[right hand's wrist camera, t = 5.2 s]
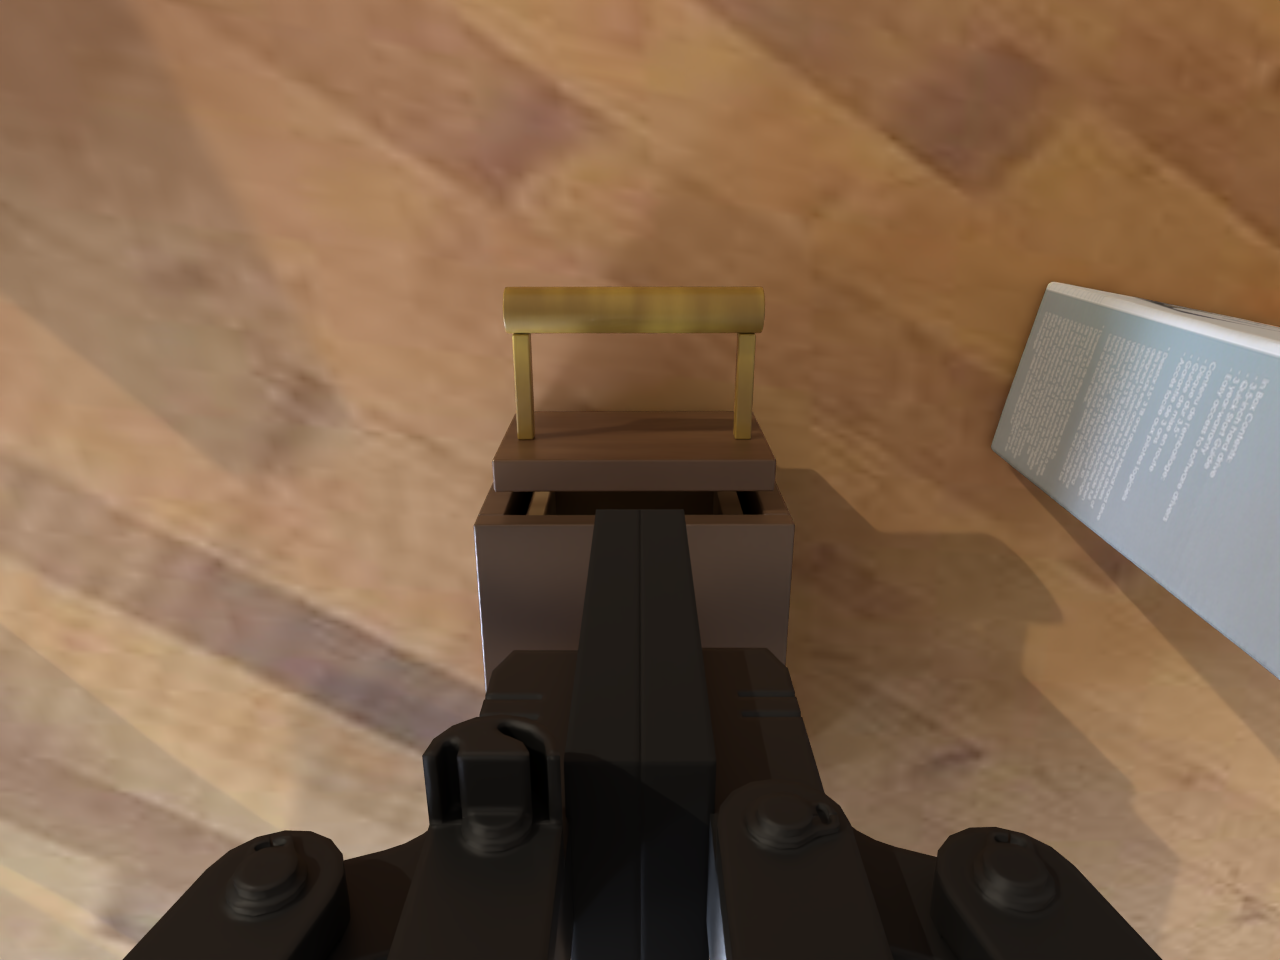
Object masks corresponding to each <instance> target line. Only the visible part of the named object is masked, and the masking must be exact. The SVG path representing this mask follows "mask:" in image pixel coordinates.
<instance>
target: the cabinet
mask: <svg viewBox="0 0 1280 960" xmlns="http://www.w3.org/2000/svg"><path fill="white" fill-rule="evenodd" d="M532 493H533V492H496V491H495V490H494V482H493V484H492V486H491V488H490V490H489V493H488V495H487V497H486V499H485V501H484V504H483V506H482V508H481V510H480V513H479V515H478V517H477V520H476V522H475V524H474V538H475V552H476V565H477V579H478V593H479V606H480V620H481V634H482V647H483V661H484V675H485V689H486V691H487V688H488V685H489V681H490V678H491V674H492V671H493V670H494V669H495V668H496V667H497V666H498V665H499V664H500V663H501V662H502V661H503V660H504V659H505V658H506V657H507V656H508V655H509V654H510V653H511V652H512V651H513V650H578V646H579V638H580V630H581V623H582V615H583V607H584V599H585V591H586V584H587V576H588V568H589V560H590V553H591V545H592V537H593V529H594V521H595V515H526V512H527V509H528V506H529V503H530V500H531V497H532ZM736 493H737V496H738V499H739V502H740V505H741V509H742V512H743V515H685V521H686V529H687V537H688V545H689V553H690V560H691V568H692V576H693V584H694V591H695V599H696V607H697V615H698V623H699V630H700V638H701V646H702V648H768V649H769V650H770V651H771V652H772V653H773V654H774V655H775V656H776V657H777V658H778V659H779V660H780V661H781V662H782V663H783V664H784V665H785V664H786V649H787V634H788V619H789V605H790V590H791V575H792V560H793V545H794V531H795V525H794V522H793V520H792V518H791V516H790V514H789V511H788V509H787V507H786V505H785V502H784V500H783V498H782V496H781V493H780V491H779V489H778V487H777V484H776V482H775V489H774V491H736Z"/></svg>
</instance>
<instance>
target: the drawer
mask: <svg viewBox="0 0 1280 960" xmlns="http://www.w3.org/2000/svg"><path fill="white" fill-rule="evenodd" d="M764 317H765V296H764V290H763V288H762V287H506V288H505V289H504V294H503V319H504V326H505V330H506V332H507V333H514V334H513V336H512V341H513V360H514V379H515V398H516V414H515V416H514V418H513V420H512V422H511V424H510V426H509V428H508V430H507V432H506V434H505V436H504V438H503V440H502V442H501V444H500V446H499V448H498V450H497V452H496V455H495V457H494V459H493V461H492V466H493V482H494V490H495V491H496V492H533V493H532V497H531V500H530V503H529V506H528V509H527V512H526V515H595V514H596V509H684V514H685V515H743V512H742V509H741V505H740V502H739V499H738V496H737V493H736V491H774V489H775V471H776V460H775V457H774V455H773V453H772V451H771V449H770V447H769V445H768V443H767V441H766V439H765V437H764V435H763V433H762V430H761V428H760V426H759V424H758V422H757V420H756V418H755V416H754V414H753V412H752V405H753V384H754V362H755V341H756V335H755V333H761V332H762V330H763V325H764ZM531 333H737V353H736V378H735V404H734V411H719V412H534V396H533V373H532V351H531Z"/></svg>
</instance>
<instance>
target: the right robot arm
mask: <svg viewBox="0 0 1280 960" xmlns="http://www.w3.org/2000/svg"><path fill="white" fill-rule="evenodd" d="M485 696H486V697H485V700H484V702H483V705H482V709H481V712H480V717H475V718H473V719H470V720H467V721H464V722H462V723H459V724H456V725H453V726H451V727H450V728H449V729H447V730H446V731H444V732H443V733H442V734H440V735H439V736H437V737H436V738H434V739H433V741H432V742H431V744H430V745H429V747H428V748H427V750H426V751H425V753H424V754H423V756H422V757H423V767H424V776H425V785H426V795H427V804H428V814H429V823H430V825H429V828H428V831H426V832H425V833H424V834H422V835H420V836H418V837H416V838H415V839H413V840H411V841H409V842H407V843H405V844H402V845H399V846H396V847H393V848H390V849H387V850H384V851H380V852H376V853H372V854H368V855H364V856H360V857H356V858H352V859H348V860H344V861H343V854H342V853H341V852H340V850H339V849H338V848H337V847H336V845H335V844H334V843H333V841H332V840H331V839H329V838H326V837H324V836H321V835H319V834H316V833H314V832H311V831H281V832H277V833H272V834H268V835H264V836H260V837H256V838H254V839H252V840H250V841H248V842H246V843H244V844H242V845H240V846H238V847H236V848H234V849H232V850H230V851H228V852H227V853H226V854H225V855H223V856H222V857H221V858H220V859H219V860H217V861H216V862H215V863H214V864H213V865H211V866H210V867H209V868H208V869H206V871H205V872H204V873H203V874H202V875H201V876H200V877H199V878H198V879H197V880H196V881H195V882H194V883H193V885H192V886H191V887H190V888H189V889H188V890H187V891H186V892H185V893H184V894H183V895H182V896H181V897H180V898H179V900H178V901H177V902H176V903H175V904H174V905H173V906H172V907H171V908H170V909H169V910H168V911H167V912H166V914H165V915H164V916H163V917H162V918H161V919H160V920H159V921H158V922H157V923H156V924H155V925H154V926H153V928H152V929H151V930H150V931H149V932H148V933H147V934H146V935H145V936H144V937H143V938H142V939H141V940H140V941H139V943H138V944H137V945H136V946H135V947H134V948H133V949H132V950H131V951H130V952H129V953H128V954H127V955H126V957H125V958H124V959H123V960H709V957H710V960H1162V959H1161V958H1160V957H1159V956H1158V955H1157V954H1156V952H1155V951H1154V950H1153V949H1152V948H1151V947H1150V946H1149V945H1148V944H1147V943H1146V942H1145V941H1144V940H1143V939H1142V937H1141V936H1140V935H1139V934H1138V933H1137V932H1136V931H1135V930H1134V929H1133V928H1132V927H1131V926H1130V925H1129V924H1128V923H1127V921H1126V920H1125V919H1124V918H1123V917H1122V916H1121V915H1120V914H1119V913H1118V912H1117V911H1116V910H1115V909H1114V908H1113V907H1112V905H1111V904H1110V903H1109V902H1108V901H1107V900H1106V899H1105V898H1104V897H1103V896H1102V895H1101V894H1100V893H1099V892H1098V891H1097V889H1096V888H1095V887H1094V886H1093V885H1092V884H1091V883H1090V882H1089V881H1088V880H1087V879H1086V878H1085V877H1084V876H1083V874H1082V873H1081V872H1080V871H1079V870H1078V869H1077V868H1076V867H1075V866H1074V865H1073V864H1072V863H1070V862H1069V861H1068V860H1067V859H1065V858H1064V857H1063V856H1062V855H1061V854H1059V853H1058V852H1057V851H1056V850H1054V849H1053V848H1052V847H1050V846H1048V845H1046V844H1044V843H1042V842H1040V841H1038V840H1036V839H1034V838H1032V837H1030V836H1028V835H1026V834H1023V833H1019V832H1015V831H1011V830H1006V829H1002V828H998V827H977V828H968V829H965V830H963V831H960V832H958V833H955V834H953V835H950V836H949V837H948V839H947V840H946V841H945V842H944V844H943V845H942V846H941V847H940V849H939V850H938V854H937V857H934V856H930V855H926V854H922V853H918V852H914V851H910V850H906V849H902V848H898V847H894V846H891V845H888V844H885V843H882V842H879V841H876V840H874V839H872V838H870V837H868V836H866V835H864V834H863V833H861V832H859V831H857V830H856V829H854V828H853V827H852V826H851V824H850V822H849V820H848V819H847V817H846V815H845V814H844V812H843V810H842V809H841V807H840V806H839V805H838V804H837V803H836V802H834V801H833V800H832V799H831V798H829V797H828V796H827V795H826V794H825V793H824V790H823V786H822V783H821V779H820V776H819V773H818V769H817V766H816V763H815V759H814V756H813V752H812V749H811V746H810V742H809V739H808V735H807V732H806V729H805V725H804V722H803V718H802V717H801V712H800V708H799V705H798V702H797V698H796V697H795V691H794V688H793V685H792V681H791V678H790V674H789V671H788V668H787V667H786V666H785V665H784V664H783V663H782V662H781V661H780V660H779V659H778V658H777V657H776V656H775V655H774V654H773V653H772V652H771V651H770V650H769V649H768V648H702V646H701V638H700V630H699V623H698V615H697V607H696V599H695V591H694V584H693V576H692V568H691V560H690V553H689V545H688V537H687V529H686V521H685V514H684V509H596V514H595V521H594V529H593V537H592V545H591V553H590V560H589V568H588V576H587V584H586V591H585V599H584V607H583V615H582V623H581V630H580V638H579V646H578V650H513V651H512V652H511V653H510V654H509V655H508V656H507V657H506V658H505V659H504V660H503V661H502V662H501V663H500V664H499V665H498V666H497V667H496V668H495V669H494V670H493V671H492V674H491V678H490V681H489V685H488V688H487V691H486V695H485Z"/></svg>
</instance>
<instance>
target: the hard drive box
mask: <svg viewBox="0 0 1280 960" xmlns="http://www.w3.org/2000/svg"><path fill="white" fill-rule="evenodd" d="M991 448H992V450H993V451H994V452H995V453H996V454H998V455H999V456H1000V457H1001V458H1003V459H1004V460H1005V461H1006V462H1008V463H1009V464H1010V465H1011V466H1012V467H1013V468H1015V469H1016V470H1017V471H1019V472H1020V473H1021V474H1022V475H1024V476H1025V477H1026V478H1027V479H1029V480H1030V481H1031V482H1032V483H1034V484H1035V485H1036V486H1037V487H1039V488H1040V489H1041V490H1042V491H1044V492H1045V493H1046V494H1047V495H1049V496H1050V497H1051V498H1052V499H1054V500H1055V501H1056V502H1057V503H1058V504H1060V505H1061V506H1062V507H1063V508H1065V509H1066V510H1067V511H1068V512H1070V513H1071V514H1072V515H1073V516H1075V517H1076V518H1077V519H1079V520H1080V521H1081V522H1082V523H1084V524H1085V525H1086V526H1087V527H1089V528H1090V529H1091V530H1092V531H1094V532H1095V533H1096V534H1097V535H1098V536H1100V537H1101V538H1102V539H1103V540H1105V541H1106V542H1107V543H1108V544H1110V545H1111V546H1112V547H1113V548H1115V549H1116V550H1117V551H1118V552H1120V553H1121V554H1122V555H1123V556H1125V557H1126V558H1127V559H1129V560H1130V561H1131V562H1132V563H1134V564H1135V565H1136V566H1137V567H1139V568H1140V569H1141V570H1143V571H1144V572H1145V573H1146V574H1148V575H1149V576H1150V577H1151V578H1153V579H1154V580H1155V581H1156V582H1158V583H1159V584H1160V585H1161V586H1163V587H1164V588H1165V589H1166V590H1168V591H1169V592H1170V593H1171V594H1173V595H1174V596H1175V597H1176V598H1178V599H1179V600H1180V601H1181V602H1183V603H1184V604H1185V605H1186V606H1188V607H1189V608H1190V609H1191V610H1192V611H1194V612H1195V613H1196V614H1197V615H1199V616H1200V617H1201V618H1202V619H1204V620H1205V621H1206V622H1208V623H1209V624H1210V625H1211V626H1213V627H1214V628H1215V629H1216V630H1218V631H1219V632H1220V633H1222V634H1223V635H1224V636H1225V637H1227V638H1228V639H1229V640H1231V641H1232V642H1233V643H1234V644H1236V645H1237V646H1238V647H1239V648H1241V649H1242V650H1243V651H1245V652H1246V653H1247V654H1248V655H1250V656H1251V657H1252V658H1253V659H1255V660H1256V661H1257V662H1258V663H1260V664H1261V665H1262V666H1263V667H1264V668H1266V669H1267V670H1268V671H1269V672H1271V673H1272V674H1273V675H1274V676H1276V677H1277V678H1278V679H1279V680H1280V327H1279V326H1274V325H1269V324H1264V323H1259V322H1255V321H1250V320H1245V319H1240V318H1235V317H1230V316H1225V315H1220V314H1215V313H1210V312H1206V311H1201V310H1196V309H1190V308H1186V307H1181V306H1176V305H1171V304H1166V303H1161V302H1156V301H1151V300H1146V299H1142V298H1137V297H1132V296H1126V295H1121V294H1116V293H1111V292H1105V291H1100V290H1095V289H1090V288H1085V287H1080V286H1074V285H1069V284H1064V283H1058V282H1051V283H1049V284H1048V286H1047V288H1046V291H1045V294H1044V296H1043V299H1042V302H1041V304H1040V307H1039V310H1038V313H1037V316H1036V318H1035V321H1034V324H1033V327H1032V330H1031V333H1030V335H1029V338H1028V341H1027V344H1026V347H1025V349H1024V352H1023V355H1022V358H1021V360H1020V363H1019V366H1018V369H1017V372H1016V375H1015V378H1014V380H1013V383H1012V386H1011V389H1010V392H1009V394H1008V397H1007V400H1006V403H1005V406H1004V409H1003V411H1002V414H1001V417H1000V421H999V424H998V427H997V430H996V433H995V436H994V439H993V442H992V445H991Z"/></svg>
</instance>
